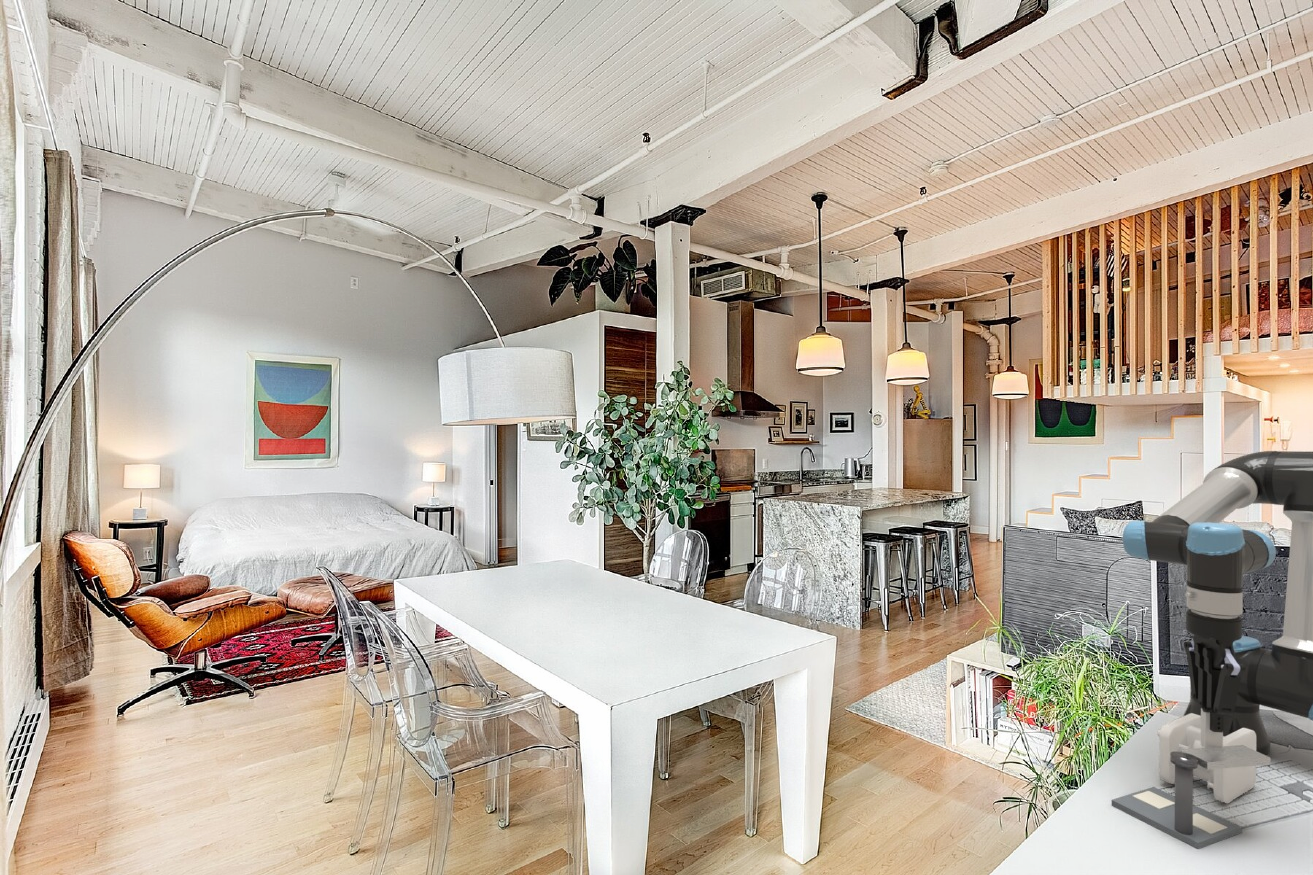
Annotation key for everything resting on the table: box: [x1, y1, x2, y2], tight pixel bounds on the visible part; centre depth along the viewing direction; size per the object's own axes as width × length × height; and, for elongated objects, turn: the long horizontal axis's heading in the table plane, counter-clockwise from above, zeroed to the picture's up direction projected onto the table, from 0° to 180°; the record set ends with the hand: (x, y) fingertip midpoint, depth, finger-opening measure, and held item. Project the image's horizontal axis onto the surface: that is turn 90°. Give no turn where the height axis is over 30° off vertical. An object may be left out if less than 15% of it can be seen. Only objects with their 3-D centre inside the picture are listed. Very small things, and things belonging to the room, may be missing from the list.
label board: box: [1111, 765, 1243, 850], centre depth 118 cm, size 12×14×12 cm
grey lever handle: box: [1170, 745, 1271, 770], centre depth 114 cm, size 16×5×1 cm, turn 98°
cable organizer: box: [1157, 713, 1257, 804], centre depth 129 cm, size 15×11×12 cm
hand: (1211, 747), depth 117 cm, fingers closed
